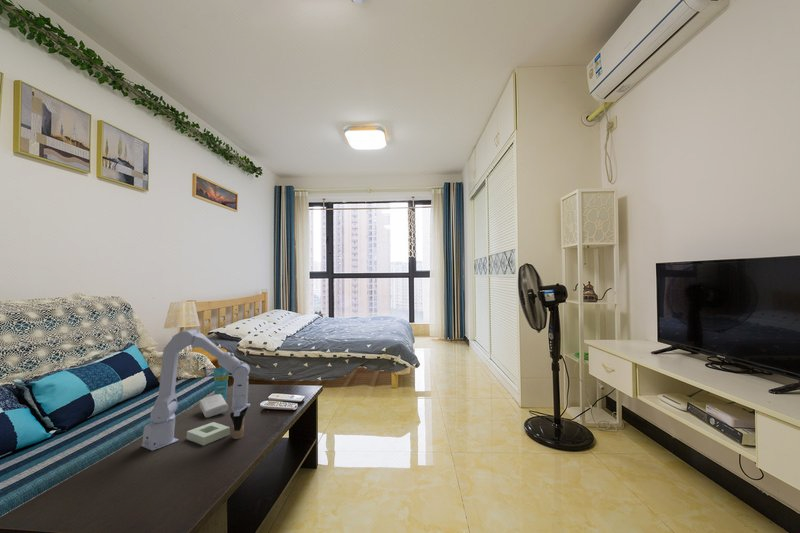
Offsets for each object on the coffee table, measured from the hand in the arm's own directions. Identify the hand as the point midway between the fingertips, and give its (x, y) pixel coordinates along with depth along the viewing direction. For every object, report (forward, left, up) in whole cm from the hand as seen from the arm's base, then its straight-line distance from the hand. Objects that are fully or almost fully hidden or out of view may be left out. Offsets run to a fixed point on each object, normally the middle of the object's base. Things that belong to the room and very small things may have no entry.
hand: (238, 428), depth 135 cm
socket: (-6, +10, -3) cm, 12 cm away
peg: (0, 0, -3) cm, 3 cm away
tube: (+18, +38, -3) cm, 42 cm away
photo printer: (+9, +27, -1) cm, 29 cm away
